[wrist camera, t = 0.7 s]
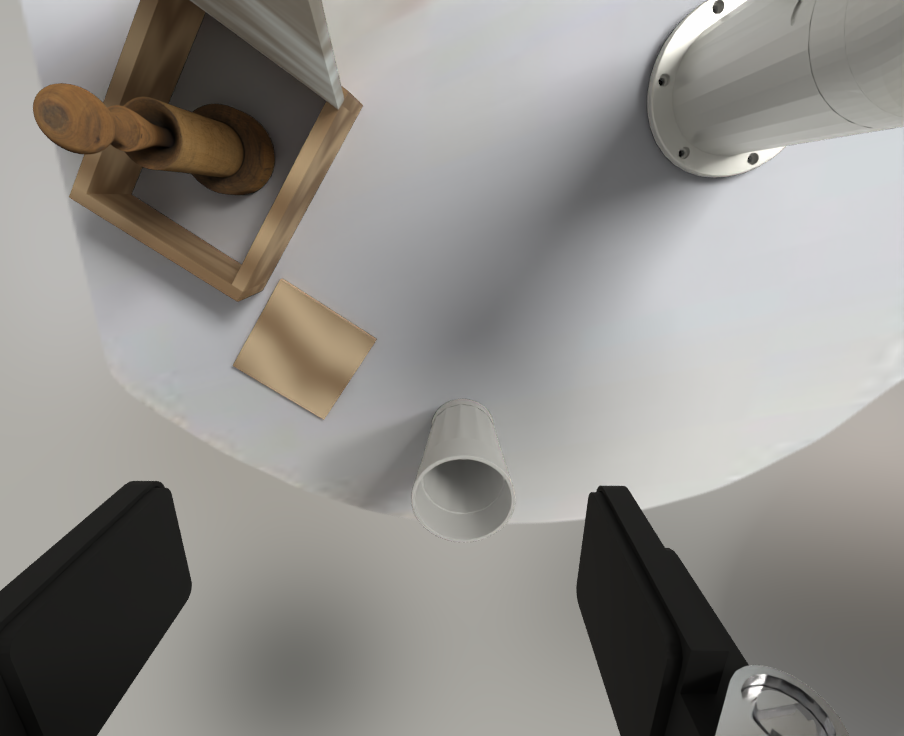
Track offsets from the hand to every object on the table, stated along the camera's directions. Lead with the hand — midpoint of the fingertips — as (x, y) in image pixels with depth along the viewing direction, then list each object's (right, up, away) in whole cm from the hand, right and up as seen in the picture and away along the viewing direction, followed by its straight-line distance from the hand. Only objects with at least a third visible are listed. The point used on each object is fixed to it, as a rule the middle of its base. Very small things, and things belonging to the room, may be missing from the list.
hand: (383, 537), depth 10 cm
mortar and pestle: (-16, +22, +28) cm, 39 cm away
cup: (+3, -2, +36) cm, 36 cm away
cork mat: (-12, +5, +33) cm, 36 cm away
